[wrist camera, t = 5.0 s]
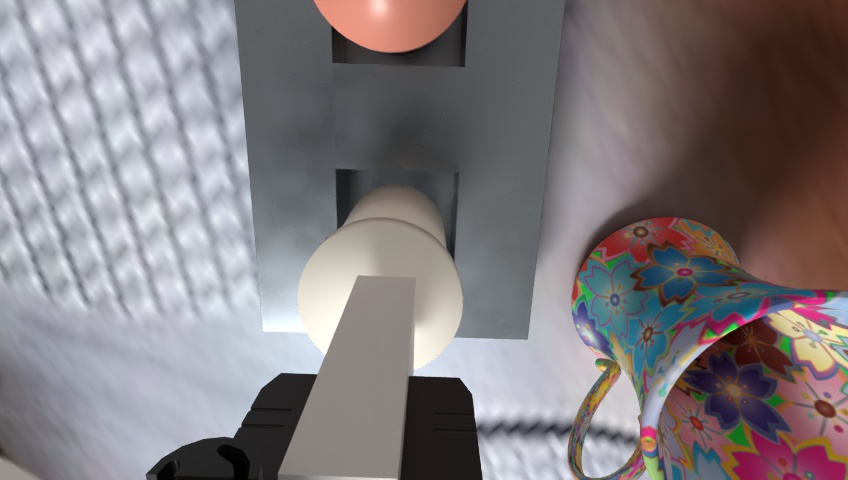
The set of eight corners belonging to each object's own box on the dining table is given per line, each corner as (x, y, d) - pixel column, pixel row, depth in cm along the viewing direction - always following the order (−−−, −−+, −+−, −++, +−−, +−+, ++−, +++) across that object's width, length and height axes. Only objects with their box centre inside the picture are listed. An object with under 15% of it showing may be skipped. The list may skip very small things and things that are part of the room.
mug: (681, 166, 23) (877, 230, 13) (768, 301, 25) (995, 447, 15) (482, 306, 26) (517, 453, 15) (578, 419, 28) (664, 611, 18)
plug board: (287, 294, 25) (262, 331, 22) (239, -441, 17) (182, -597, 13) (512, 301, 25) (527, 339, 22) (583, -430, 17) (629, -582, 13)
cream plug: (341, 281, 20) (301, 373, 14) (338, 175, 19) (292, 222, 13) (448, 284, 20) (458, 378, 14) (454, 178, 19) (467, 228, 13)
